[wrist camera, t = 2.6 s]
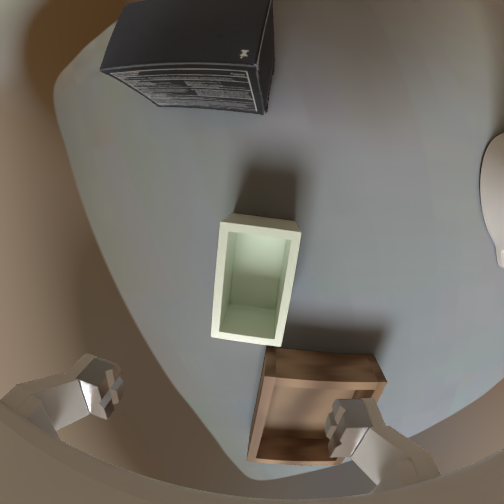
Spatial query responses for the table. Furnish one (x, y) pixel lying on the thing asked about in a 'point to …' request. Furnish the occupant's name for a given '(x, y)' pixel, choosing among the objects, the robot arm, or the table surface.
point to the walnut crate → (306, 402)
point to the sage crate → (254, 278)
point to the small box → (195, 53)
